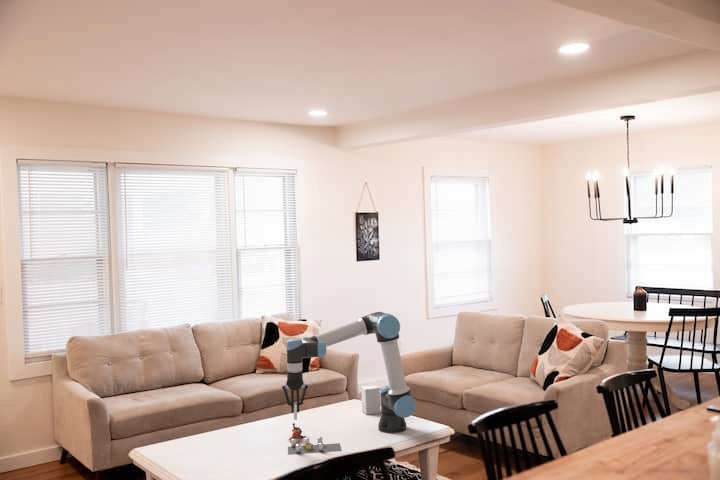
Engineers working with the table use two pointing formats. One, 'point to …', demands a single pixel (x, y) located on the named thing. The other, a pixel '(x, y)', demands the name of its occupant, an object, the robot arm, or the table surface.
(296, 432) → the figurine
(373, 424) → the table surface
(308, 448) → the nut
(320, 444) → the spacer field
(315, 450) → the mat
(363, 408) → the supplement box
